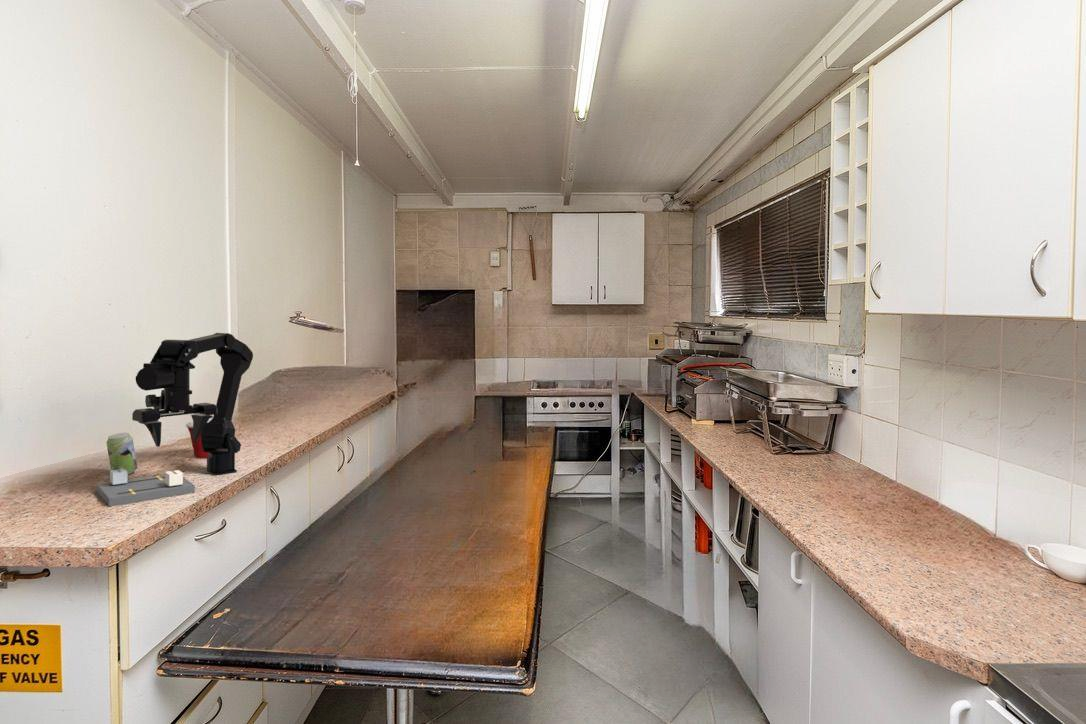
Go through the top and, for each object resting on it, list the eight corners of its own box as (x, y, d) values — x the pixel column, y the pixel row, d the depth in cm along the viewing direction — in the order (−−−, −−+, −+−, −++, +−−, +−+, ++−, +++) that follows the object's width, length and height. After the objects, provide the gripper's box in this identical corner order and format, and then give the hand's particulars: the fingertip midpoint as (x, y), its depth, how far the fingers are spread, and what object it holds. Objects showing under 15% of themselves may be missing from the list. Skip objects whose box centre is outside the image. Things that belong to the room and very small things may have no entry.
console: (177, 479, 154) (177, 472, 154) (194, 492, 144) (194, 484, 144) (97, 491, 141) (97, 483, 141) (109, 506, 130) (109, 498, 130)
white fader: (124, 479, 144) (124, 468, 144) (127, 482, 142) (127, 471, 141) (109, 481, 142) (109, 469, 142) (113, 484, 139) (113, 472, 139)
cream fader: (178, 481, 145) (178, 469, 145) (182, 484, 142) (182, 472, 142) (165, 482, 143) (165, 471, 143) (169, 486, 140) (169, 474, 140)
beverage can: (142, 471, 161) (142, 432, 160) (120, 478, 154) (121, 436, 153) (123, 470, 162) (123, 430, 161) (100, 476, 154) (100, 435, 154)
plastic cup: (177, 457, 179) (177, 422, 179) (208, 451, 189) (208, 418, 189) (199, 462, 175) (200, 425, 174) (230, 455, 185) (230, 421, 185)
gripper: (196, 381, 157) (196, 434, 158) (121, 386, 141) (122, 445, 142) (218, 385, 151) (218, 439, 152) (143, 390, 135) (143, 451, 136)
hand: (176, 443), depth 146 cm, fingers open, 9 cm apart
